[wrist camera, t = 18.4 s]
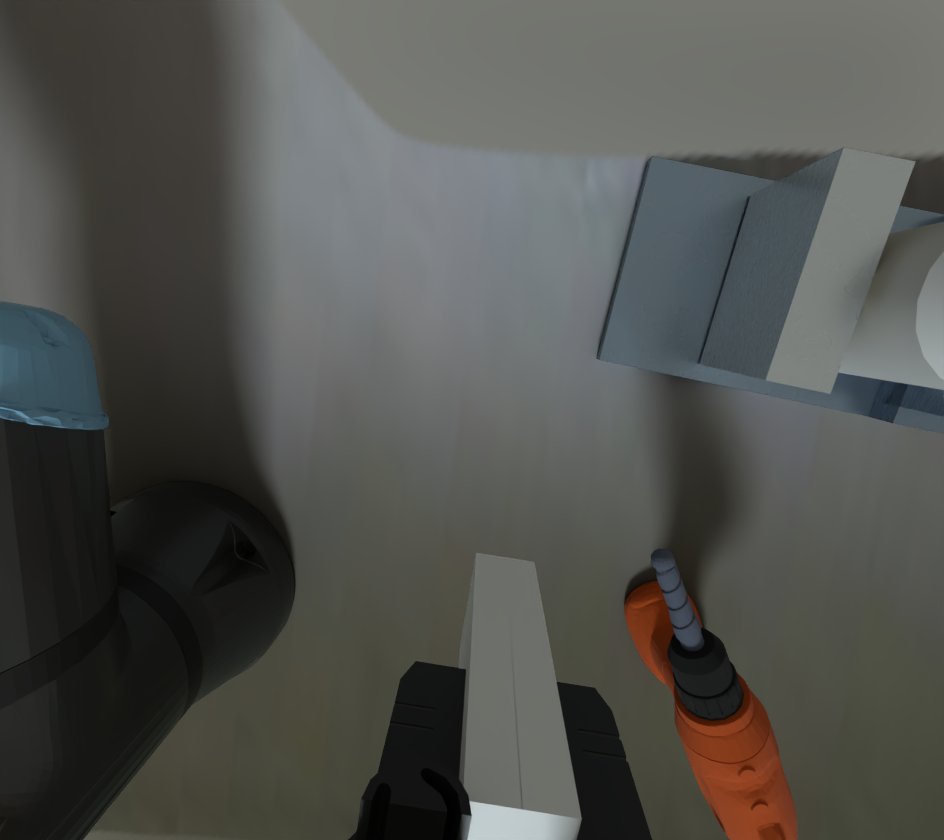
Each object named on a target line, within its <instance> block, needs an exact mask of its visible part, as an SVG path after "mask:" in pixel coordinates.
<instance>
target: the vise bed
mask: <svg viewBox="0 0 944 840" xmlns="http://www.w3.org/2000/svg"><path fill="white" fill-rule="evenodd" d="M774 182H776V181H774V180H769V179H764V178H759V177H754V176H749V175H744V174H739V173H734V172H729V171H724V170H719V169H714V168H709V167H704V166H699V165H694V164H689V163H684V162H679V161H674V160H669V159H664V158H659V157H654V156H652V157H651V158H650V159H649V160H648V162H647V166H646V169H645V173H644V177H643V181H642V185H641V189H640V193H639V196H638V200H637V204H636V208H635V212H634V216H633V220H632V224H631V227H630V231H629V235H628V239H627V243H626V247H625V251H624V254H623V258H622V262H621V266H620V270H619V274H618V278H617V282H616V285H615V289H614V293H613V297H612V301H611V305H610V309H609V312H608V316H607V320H606V324H605V328H604V332H603V336H602V340H601V343H600V347H599V351H598V355H597V359H599V360H603V361H607V362H612V363H617V364H622V365H626V366H631V367H636V368H641V369H645V370H650V371H655V372H660V373H664V374H669V375H674V376H679V377H683V378H688V379H693V380H698V381H702V382H707V383H712V384H716V385H721V386H726V387H731V388H735V389H740V390H745V391H750V392H754V393H759V394H764V395H769V396H773V397H778V398H783V399H788V400H792V401H797V402H802V403H807V404H811V405H816V406H821V407H826V408H830V409H835V410H840V411H845V412H849V413H854V414H859V415H864V416H868V417H872V418H876V419H879V420H883V421H887V422H890V423H894V424H899V425H904V426H908V427H913V428H918V429H923V430H927V431H932V432H937V433H942V434H944V390H941V389H935V388H929V387H923V386H917V385H911V384H904V383H898V382H892V381H886V380H880V379H874V378H868V377H862V376H856V375H850V374H844V373H839V372H838V375H837V377H836V380H835V383H834V386H833V388H832V391H831V394H828V393H824V392H819V391H814V390H809V389H805V388H800V387H795V386H790V385H786V384H781V383H776V382H771V381H767V380H762V379H758V378H754V377H750V376H746V375H742V374H737V373H733V372H729V371H725V370H721V369H717V368H713V367H708V366H704V365H700V360H701V357H702V354H703V351H704V347H705V344H706V341H707V337H708V334H709V331H710V328H711V324H712V321H713V318H714V314H715V311H716V308H717V305H718V301H719V298H720V295H721V291H722V288H723V285H724V282H725V278H726V275H727V272H728V268H729V265H730V262H731V259H732V255H733V252H734V249H735V245H736V242H737V239H738V236H739V232H740V229H741V226H742V222H743V219H744V216H745V213H746V209H747V206H748V203H749V199H750V196H751V194H752V193H754V192H756V191H758V190H760V189H762V188H764V187H766V186H768V185H770V184H772V183H774ZM940 222H944V214H939V213H934V212H929V211H924V210H919V209H914V208H909V207H904V206H899V208H898V211H897V214H896V216H895V219H894V222H893V225H892V227H891V230H890V233H895V232H899V231H904V230H908V229H913V228H917V227H922V226H926V225H931V224H936V223H940ZM890 233H889V234H890Z"/></svg>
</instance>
